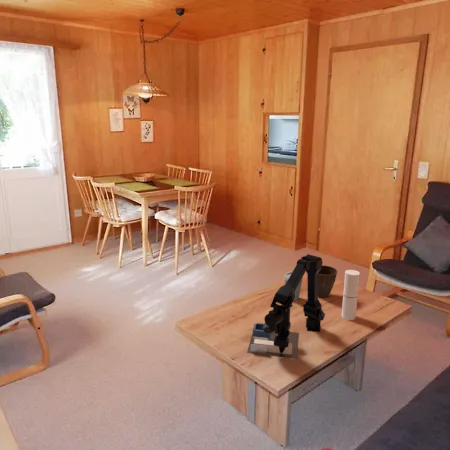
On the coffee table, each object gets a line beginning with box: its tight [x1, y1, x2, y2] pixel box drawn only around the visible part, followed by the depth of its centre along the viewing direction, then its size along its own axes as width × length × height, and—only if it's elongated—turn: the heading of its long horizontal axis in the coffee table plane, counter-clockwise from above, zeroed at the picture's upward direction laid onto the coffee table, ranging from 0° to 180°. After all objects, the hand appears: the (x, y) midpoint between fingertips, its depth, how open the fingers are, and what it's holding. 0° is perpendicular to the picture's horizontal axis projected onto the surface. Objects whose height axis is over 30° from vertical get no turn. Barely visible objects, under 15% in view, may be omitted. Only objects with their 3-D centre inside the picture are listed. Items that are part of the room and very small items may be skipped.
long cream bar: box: [254, 339, 292, 354], centre depth 184 cm, size 17×4×4 cm, turn 78°
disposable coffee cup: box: [283, 271, 304, 301], centre depth 235 cm, size 11×11×15 cm
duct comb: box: [246, 322, 300, 360], centre depth 190 cm, size 22×22×4 cm
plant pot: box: [318, 264, 338, 299], centre depth 239 cm, size 15×15×16 cm
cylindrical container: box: [340, 269, 361, 321], centre depth 213 cm, size 7×7×25 cm
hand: (281, 349), depth 184 cm, fingers open, 4 cm apart
